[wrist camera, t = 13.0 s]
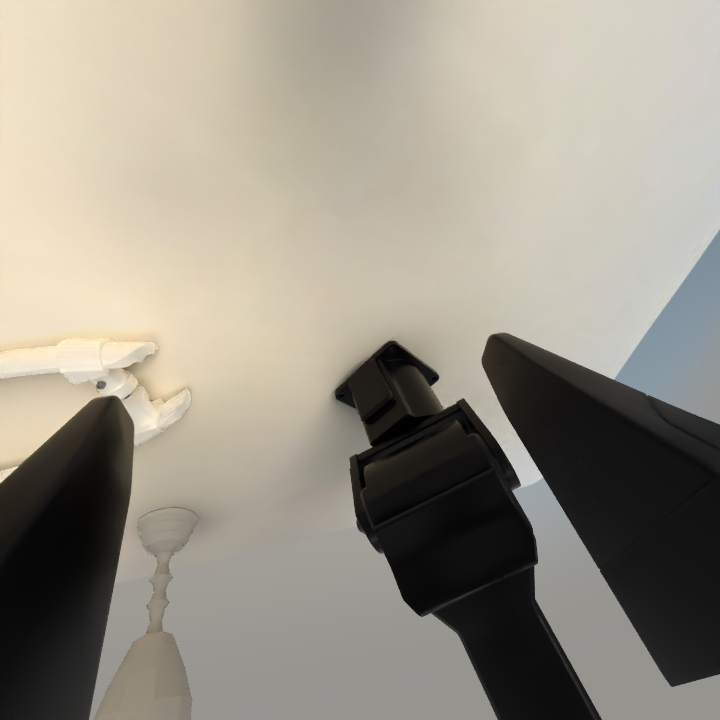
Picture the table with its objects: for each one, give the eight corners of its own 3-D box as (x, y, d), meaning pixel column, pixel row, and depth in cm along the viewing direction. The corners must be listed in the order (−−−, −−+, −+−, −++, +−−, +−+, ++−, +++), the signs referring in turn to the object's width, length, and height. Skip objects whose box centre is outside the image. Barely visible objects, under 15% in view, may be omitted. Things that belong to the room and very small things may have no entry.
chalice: (209, 535, 37) (198, 805, 23) (132, 547, 34) (72, 855, 21) (206, 496, 32) (190, 801, 19) (118, 507, 30) (31, 862, 17)
